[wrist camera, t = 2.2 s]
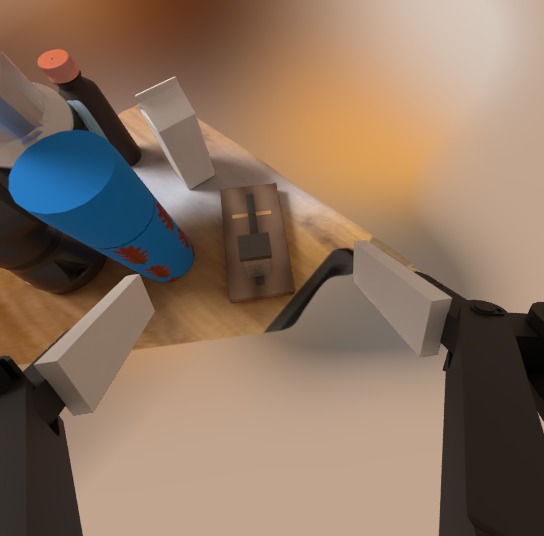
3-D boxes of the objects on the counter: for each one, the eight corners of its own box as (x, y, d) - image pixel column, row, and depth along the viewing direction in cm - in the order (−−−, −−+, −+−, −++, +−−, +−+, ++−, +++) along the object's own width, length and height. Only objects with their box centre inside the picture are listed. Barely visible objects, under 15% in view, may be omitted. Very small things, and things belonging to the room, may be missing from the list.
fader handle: (247, 279, 42) (239, 258, 33) (245, 261, 44) (237, 236, 34) (272, 276, 43) (271, 254, 33) (269, 258, 44) (268, 232, 34)
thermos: (200, 273, 46) (123, 197, 22) (146, 290, 45) (5, 229, 21) (188, 227, 49) (110, 118, 26) (137, 242, 48) (7, 142, 24)
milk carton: (216, 174, 54) (187, 88, 36) (189, 190, 53) (145, 108, 35) (200, 156, 56) (164, 64, 38) (174, 170, 54) (125, 83, 36)
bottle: (147, 154, 56) (83, 56, 37) (125, 172, 54) (46, 78, 35) (129, 141, 58) (59, 40, 39) (107, 158, 56) (22, 60, 37)
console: (231, 302, 44) (229, 299, 42) (222, 197, 52) (220, 189, 49) (293, 293, 44) (295, 290, 42) (275, 190, 52) (275, 182, 50)
